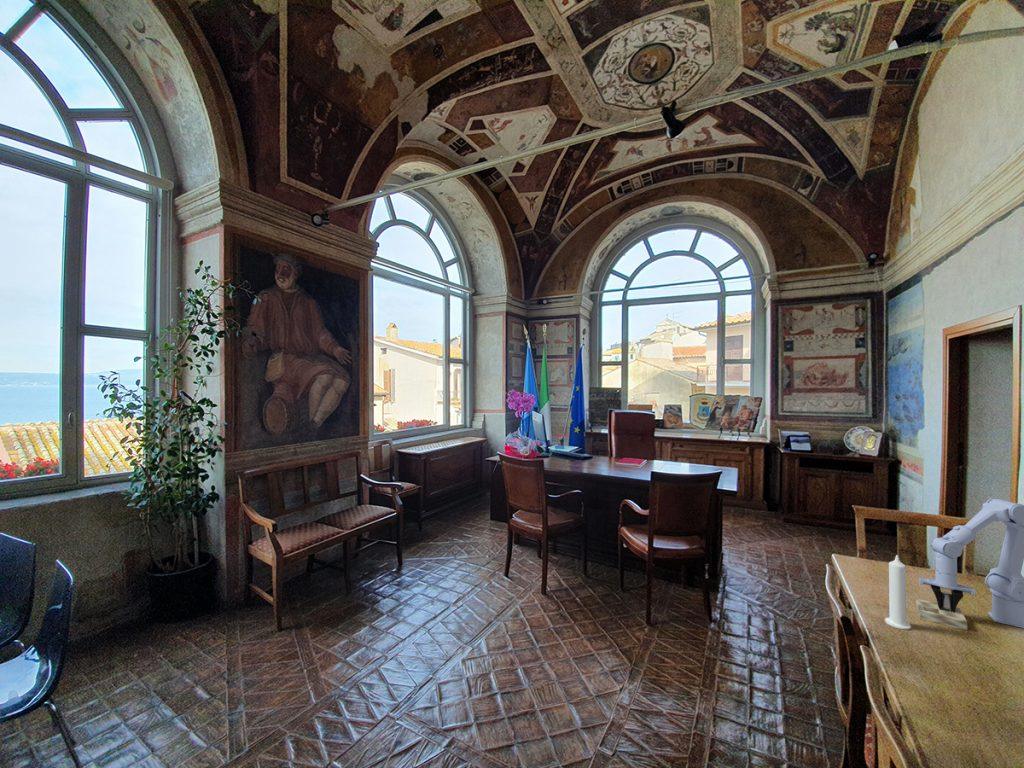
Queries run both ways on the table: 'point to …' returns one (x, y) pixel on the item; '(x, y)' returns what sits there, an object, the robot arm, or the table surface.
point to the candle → (897, 595)
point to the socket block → (940, 614)
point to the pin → (946, 601)
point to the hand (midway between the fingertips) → (946, 608)
